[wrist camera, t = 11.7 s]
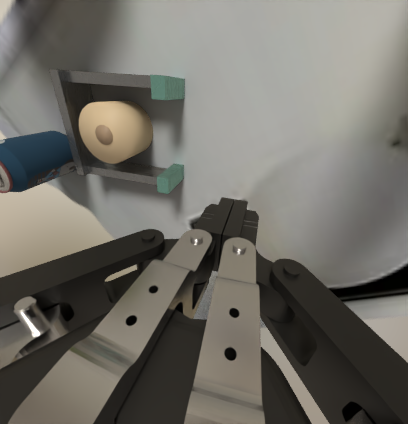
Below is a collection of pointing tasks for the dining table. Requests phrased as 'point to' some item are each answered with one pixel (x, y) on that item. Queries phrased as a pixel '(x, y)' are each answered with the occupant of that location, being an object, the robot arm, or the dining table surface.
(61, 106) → the holder
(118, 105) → the beige round fruit
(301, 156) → the dining table surface
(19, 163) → the soda can
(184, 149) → the dining table surface
